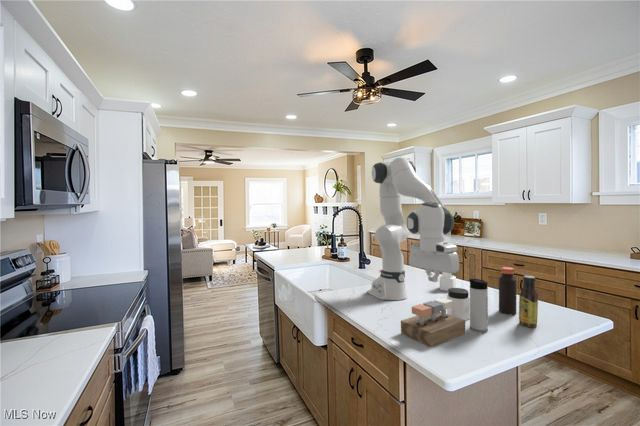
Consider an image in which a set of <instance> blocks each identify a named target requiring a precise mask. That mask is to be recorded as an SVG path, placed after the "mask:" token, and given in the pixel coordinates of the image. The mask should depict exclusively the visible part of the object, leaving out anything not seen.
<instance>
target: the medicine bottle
mask: <svg viewBox="0 0 640 426" xmlns="http://www.w3.org/2000/svg"><path fill="white" fill-rule="evenodd" d="M454 275H455V273H453V274H451V273H446V272H441V276H439V290H440V291H445V292H448V289H450V288H457V277H456V276H454Z"/></svg>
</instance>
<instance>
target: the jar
mask: <svg viewBox="0 0 640 426" xmlns="http://www.w3.org/2000/svg"><path fill="white" fill-rule="evenodd" d="M446 299H448V300H452V301H453V307H452V308H449V309H446V314H448V315H451V316H454V317H457V318H460V319H463V320H465V322H466V321H468V320H470V292H469V290H468V289H465V288H461V287H456V288H450V289H448V291H447V295H446Z"/></svg>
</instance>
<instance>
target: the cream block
mask: <svg viewBox="0 0 640 426" xmlns="http://www.w3.org/2000/svg"><path fill="white" fill-rule="evenodd" d="M433 301H434V302H437V303H440V304H443V311H440V312H441V318H444V319H445V318H446V314H447V309H449V308H452V307H453V301H452V300H448V299H447V298H444V297H439V298H437V299H433Z"/></svg>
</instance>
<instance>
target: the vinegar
mask: <svg viewBox="0 0 640 426" xmlns="http://www.w3.org/2000/svg"><path fill="white" fill-rule="evenodd" d="M500 271H501V272H500V273H501V276H500V277H499V278H498V311H499V313H500V314H504V315H509V316H514V315H516V314H517V279H516V278H515V277H514V274H515V269H514V267H509V266H503V267H501V268H500Z"/></svg>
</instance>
